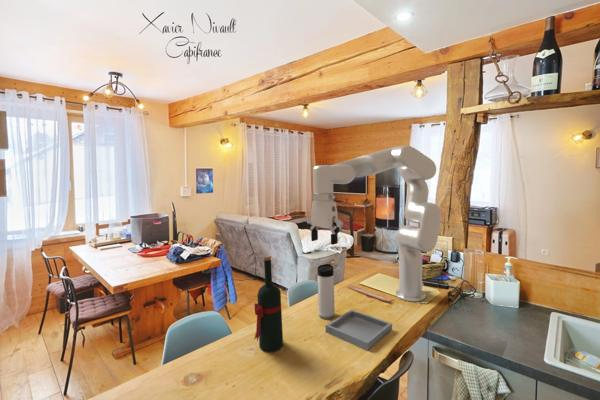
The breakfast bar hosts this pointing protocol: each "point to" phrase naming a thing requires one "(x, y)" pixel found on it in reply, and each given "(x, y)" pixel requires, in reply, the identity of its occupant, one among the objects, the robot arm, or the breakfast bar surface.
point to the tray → (359, 329)
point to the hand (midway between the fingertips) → (324, 242)
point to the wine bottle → (269, 313)
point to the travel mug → (326, 291)
